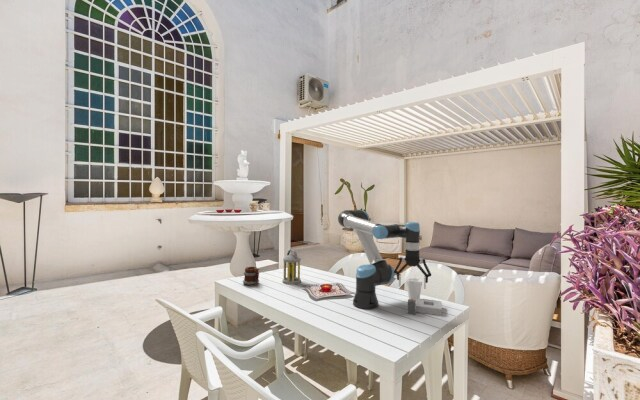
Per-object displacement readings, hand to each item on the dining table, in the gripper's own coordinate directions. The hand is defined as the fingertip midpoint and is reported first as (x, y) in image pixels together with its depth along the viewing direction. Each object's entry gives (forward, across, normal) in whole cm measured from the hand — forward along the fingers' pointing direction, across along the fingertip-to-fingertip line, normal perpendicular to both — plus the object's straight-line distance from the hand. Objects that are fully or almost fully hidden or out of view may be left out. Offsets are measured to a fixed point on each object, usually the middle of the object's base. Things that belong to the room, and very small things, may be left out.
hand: (412, 287), depth 171 cm
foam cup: (+15, 0, +23) cm, 28 cm away
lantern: (+14, -90, +30) cm, 96 cm away
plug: (+15, 0, 0) cm, 15 cm away
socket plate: (+15, +9, +10) cm, 20 cm away
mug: (+14, -114, +13) cm, 116 cm away
